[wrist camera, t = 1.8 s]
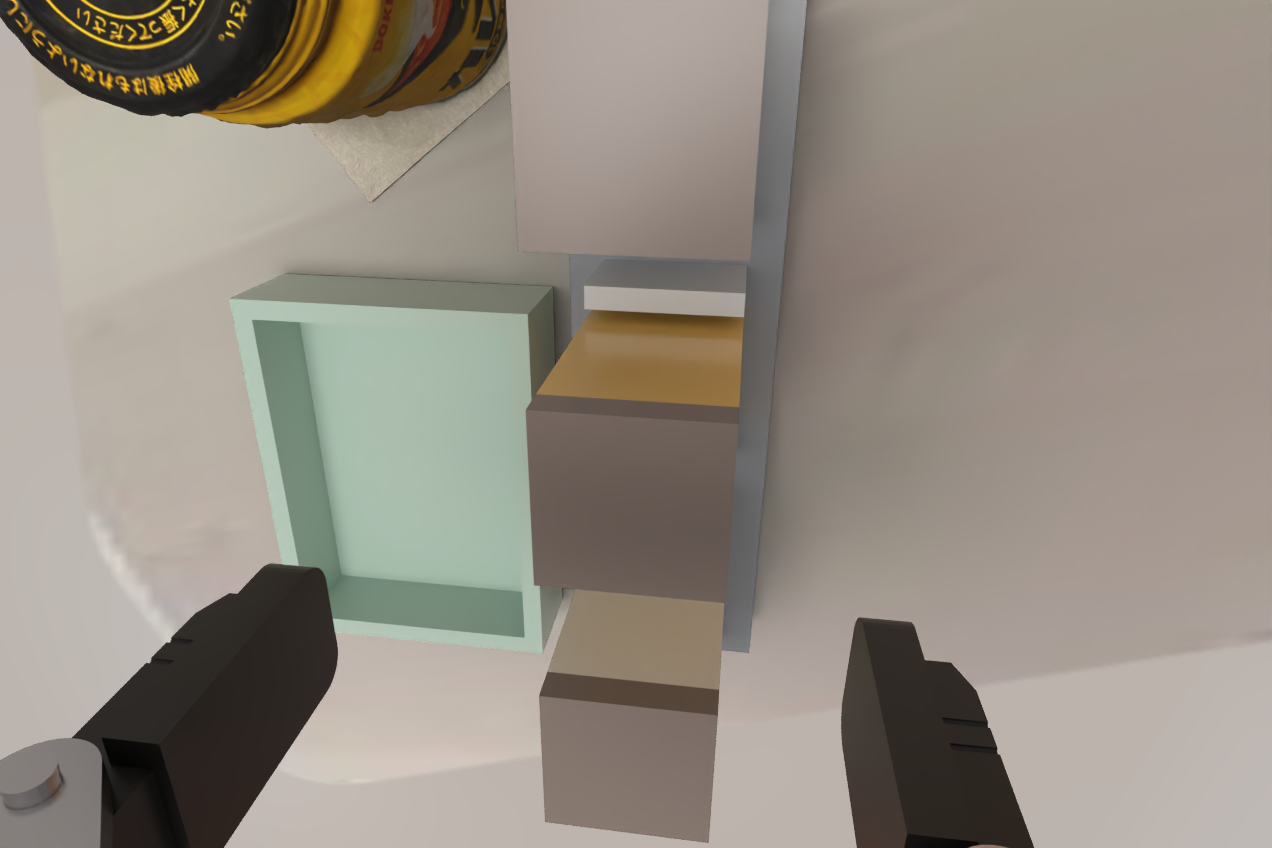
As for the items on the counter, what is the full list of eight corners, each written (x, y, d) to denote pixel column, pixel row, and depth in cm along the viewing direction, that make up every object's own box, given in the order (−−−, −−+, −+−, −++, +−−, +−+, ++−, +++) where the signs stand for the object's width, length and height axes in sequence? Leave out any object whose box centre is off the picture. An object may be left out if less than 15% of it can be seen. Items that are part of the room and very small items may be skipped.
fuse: (744, 297, 23) (738, 424, 15) (735, 425, 24) (725, 602, 16) (604, 290, 23) (525, 409, 15) (604, 417, 25) (534, 585, 17)
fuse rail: (806, -42, 21) (851, -132, 11) (749, 616, 30) (746, 890, 20) (579, -42, 22) (433, -126, 12) (588, 601, 30) (508, 858, 20)
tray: (552, 286, 25) (527, 314, 23) (562, 598, 30) (542, 653, 28) (284, 273, 26) (229, 298, 24) (336, 577, 31) (295, 628, 29)
